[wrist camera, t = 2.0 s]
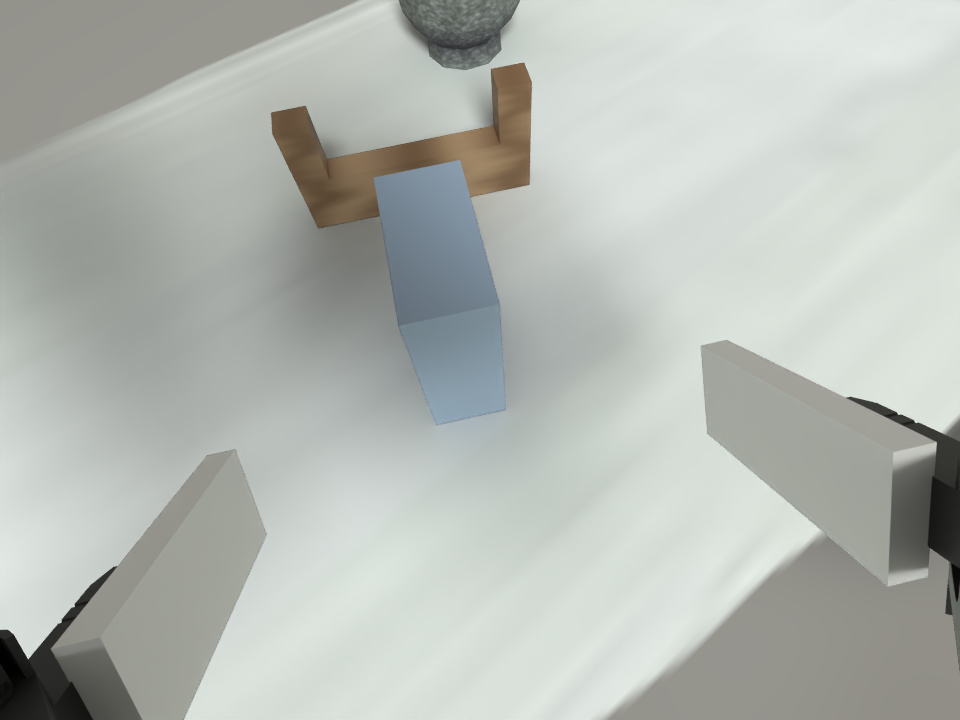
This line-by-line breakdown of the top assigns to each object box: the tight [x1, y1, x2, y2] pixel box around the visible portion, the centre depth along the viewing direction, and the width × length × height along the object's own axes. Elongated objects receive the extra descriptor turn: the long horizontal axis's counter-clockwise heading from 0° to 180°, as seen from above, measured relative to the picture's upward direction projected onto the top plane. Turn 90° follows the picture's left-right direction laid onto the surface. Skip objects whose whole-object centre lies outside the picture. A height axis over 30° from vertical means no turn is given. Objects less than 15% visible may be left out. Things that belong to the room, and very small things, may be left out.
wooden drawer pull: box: [271, 63, 532, 228], centre depth 35 cm, size 15×2×8 cm, turn 102°
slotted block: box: [374, 160, 506, 425], centre depth 28 cm, size 4×8×11 cm, turn 12°
